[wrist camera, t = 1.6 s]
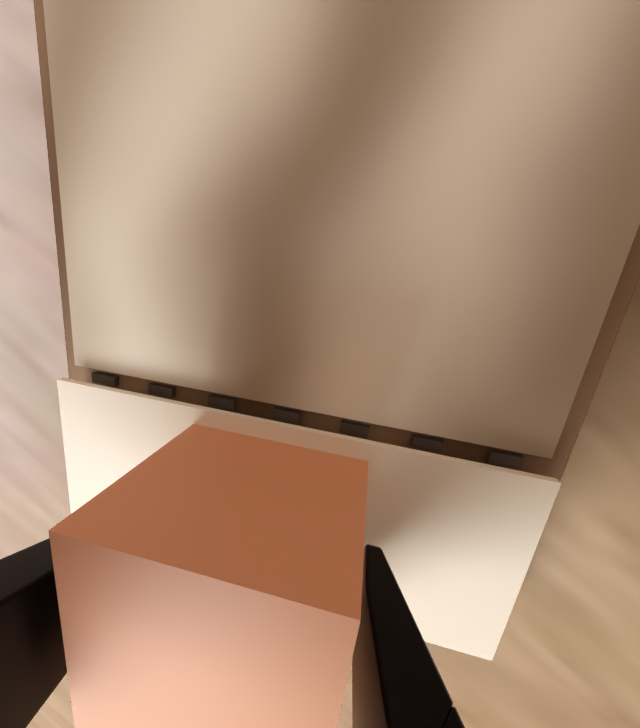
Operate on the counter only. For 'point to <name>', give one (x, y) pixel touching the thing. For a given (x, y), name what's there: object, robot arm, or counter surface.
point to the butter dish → (262, 558)
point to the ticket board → (350, 210)
